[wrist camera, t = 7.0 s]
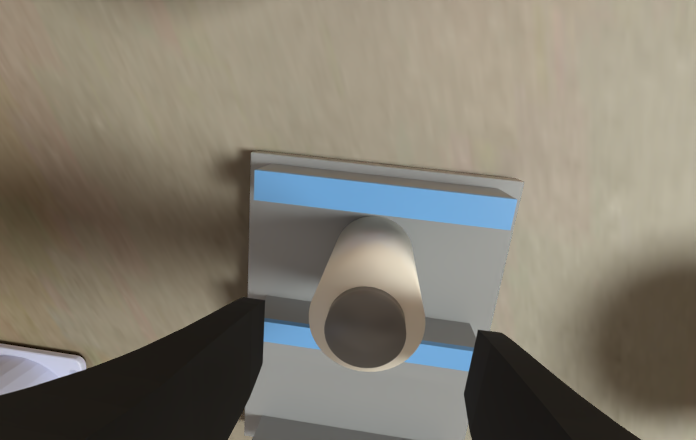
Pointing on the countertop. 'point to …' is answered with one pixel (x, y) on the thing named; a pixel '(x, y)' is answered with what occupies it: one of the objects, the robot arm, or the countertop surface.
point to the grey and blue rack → (434, 281)
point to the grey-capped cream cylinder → (369, 298)
